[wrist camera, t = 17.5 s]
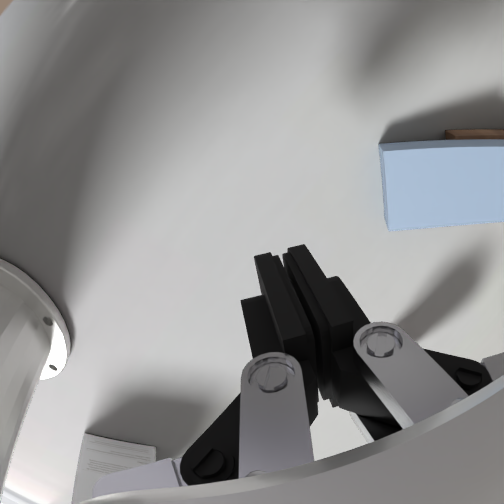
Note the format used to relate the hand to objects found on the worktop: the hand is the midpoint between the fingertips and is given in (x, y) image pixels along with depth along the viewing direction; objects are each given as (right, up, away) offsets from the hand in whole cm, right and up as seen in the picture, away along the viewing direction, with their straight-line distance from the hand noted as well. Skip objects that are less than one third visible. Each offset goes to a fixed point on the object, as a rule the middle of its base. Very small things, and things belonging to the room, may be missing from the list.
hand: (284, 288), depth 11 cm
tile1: (+7, +5, +7) cm, 11 cm away
